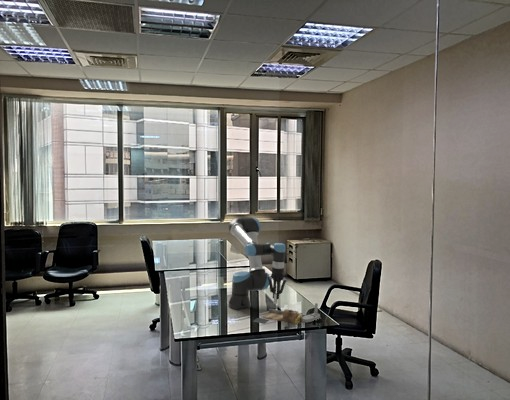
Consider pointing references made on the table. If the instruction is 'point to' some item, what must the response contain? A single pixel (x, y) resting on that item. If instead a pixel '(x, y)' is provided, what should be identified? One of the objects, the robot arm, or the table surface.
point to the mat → (261, 320)
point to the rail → (282, 314)
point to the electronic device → (311, 315)
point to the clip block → (290, 315)
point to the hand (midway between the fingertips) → (275, 303)
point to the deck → (273, 316)
